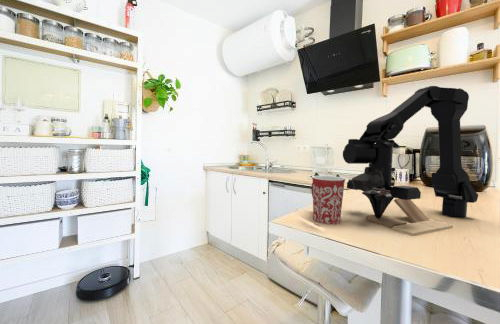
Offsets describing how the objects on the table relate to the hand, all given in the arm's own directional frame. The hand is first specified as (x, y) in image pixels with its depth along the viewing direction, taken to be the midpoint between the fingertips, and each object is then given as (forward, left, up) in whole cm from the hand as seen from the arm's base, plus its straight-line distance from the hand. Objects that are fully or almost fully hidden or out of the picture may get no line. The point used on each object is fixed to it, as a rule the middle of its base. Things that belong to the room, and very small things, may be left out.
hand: (378, 217), depth 62 cm
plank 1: (-1, +1, -1) cm, 2 cm away
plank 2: (-10, +2, +2) cm, 11 cm away
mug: (+13, -7, -2) cm, 15 cm away
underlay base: (-6, +4, -2) cm, 7 cm away
